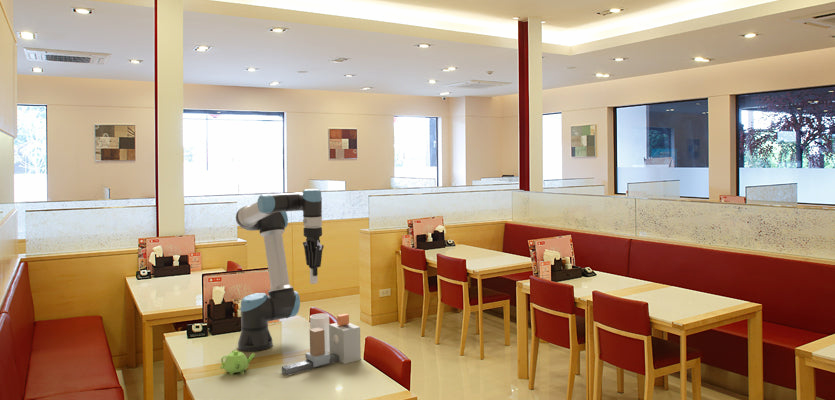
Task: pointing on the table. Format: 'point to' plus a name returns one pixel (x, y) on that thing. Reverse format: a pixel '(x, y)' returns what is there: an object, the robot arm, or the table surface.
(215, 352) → the table surface
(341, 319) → the block
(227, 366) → the teapot
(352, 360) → the cabinet
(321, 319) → the cup
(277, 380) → the table surface
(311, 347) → the carriage
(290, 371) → the rail
